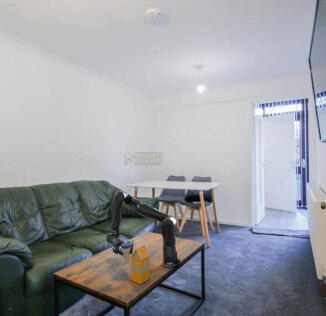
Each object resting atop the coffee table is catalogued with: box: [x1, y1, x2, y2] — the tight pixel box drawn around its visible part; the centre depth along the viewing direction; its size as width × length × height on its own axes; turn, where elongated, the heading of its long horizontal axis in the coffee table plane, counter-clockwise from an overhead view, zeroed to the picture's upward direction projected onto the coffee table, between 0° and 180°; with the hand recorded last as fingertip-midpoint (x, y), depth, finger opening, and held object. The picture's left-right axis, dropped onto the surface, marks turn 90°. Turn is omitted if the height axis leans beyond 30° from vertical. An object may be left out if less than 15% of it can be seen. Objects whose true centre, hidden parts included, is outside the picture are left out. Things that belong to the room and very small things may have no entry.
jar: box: [121, 248, 131, 264], centre depth 158 cm, size 5×5×11 cm
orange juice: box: [130, 244, 150, 285], centre depth 152 cm, size 8×9×20 cm
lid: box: [121, 242, 131, 249], centre depth 158 cm, size 6×6×2 cm
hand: (127, 253), depth 156 cm, fingers closed on jar, 5 cm apart
